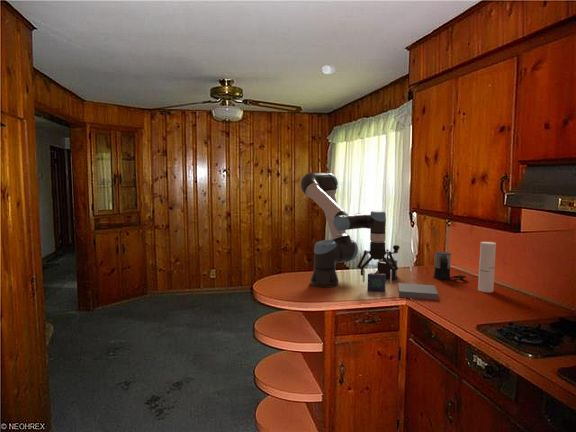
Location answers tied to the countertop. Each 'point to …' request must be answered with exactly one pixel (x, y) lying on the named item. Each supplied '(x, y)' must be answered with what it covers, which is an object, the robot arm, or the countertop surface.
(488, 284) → the cylindrical container
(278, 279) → the countertop surface
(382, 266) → the coffee grinder
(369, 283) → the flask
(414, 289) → the base board
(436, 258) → the milk frother
